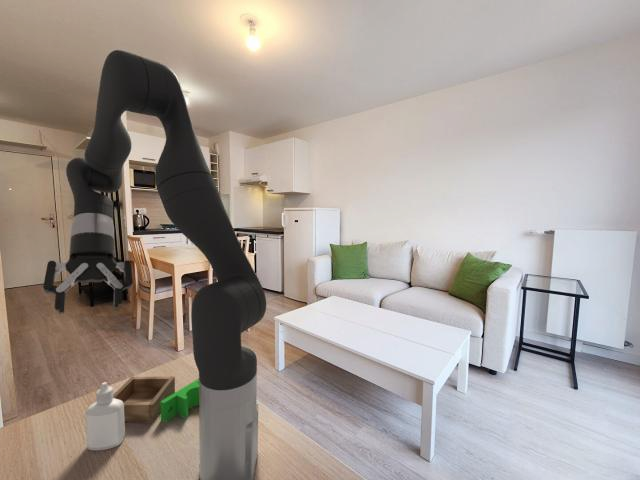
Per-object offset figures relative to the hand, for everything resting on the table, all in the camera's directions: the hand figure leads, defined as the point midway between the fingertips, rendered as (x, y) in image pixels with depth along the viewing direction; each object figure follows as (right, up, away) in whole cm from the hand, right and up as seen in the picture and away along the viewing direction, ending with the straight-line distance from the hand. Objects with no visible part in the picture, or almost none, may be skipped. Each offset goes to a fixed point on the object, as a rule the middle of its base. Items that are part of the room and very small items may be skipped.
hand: (90, 310), depth 57 cm
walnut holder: (+7, -23, +6) cm, 25 cm away
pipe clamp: (+18, -24, +6) cm, 30 cm away
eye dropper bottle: (+7, -24, -4) cm, 26 cm away
